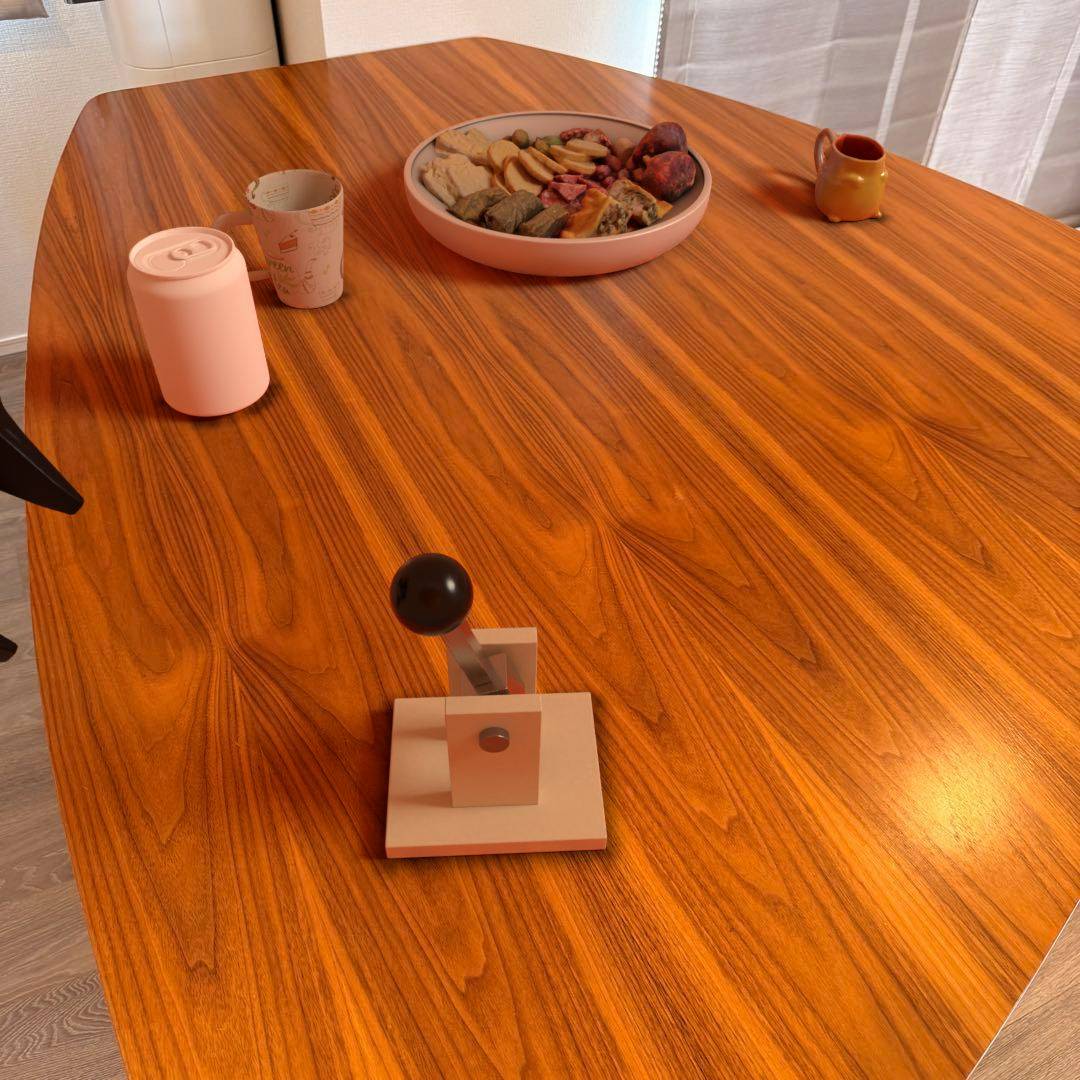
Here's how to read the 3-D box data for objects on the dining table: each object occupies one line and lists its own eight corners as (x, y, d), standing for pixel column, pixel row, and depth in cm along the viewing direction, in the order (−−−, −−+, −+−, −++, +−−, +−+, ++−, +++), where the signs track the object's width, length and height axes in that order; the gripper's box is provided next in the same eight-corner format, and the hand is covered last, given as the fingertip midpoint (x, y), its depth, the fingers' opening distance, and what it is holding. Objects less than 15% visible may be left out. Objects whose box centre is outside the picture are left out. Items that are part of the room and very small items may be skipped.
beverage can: (144, 391, 76) (98, 250, 68) (232, 350, 80) (199, 212, 72) (203, 437, 72) (162, 292, 64) (292, 391, 76) (264, 250, 68)
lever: (372, 610, 40) (454, 588, 39) (377, 548, 42) (455, 526, 41) (469, 747, 47) (539, 730, 46) (468, 686, 49) (535, 669, 49)
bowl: (472, 320, 84) (469, 236, 79) (369, 180, 104) (361, 104, 98) (763, 256, 93) (779, 176, 88) (619, 139, 113) (624, 67, 107)
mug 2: (889, 222, 99) (908, 158, 94) (826, 227, 98) (841, 162, 93) (843, 172, 107) (858, 111, 103) (784, 176, 106) (797, 114, 102)
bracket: (386, 859, 49) (367, 755, 42) (395, 710, 55) (380, 600, 48) (605, 849, 49) (619, 745, 43) (589, 704, 56) (599, 594, 49)
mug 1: (361, 309, 85) (348, 206, 78) (220, 327, 83) (194, 221, 76) (349, 265, 91) (336, 165, 84) (216, 281, 88) (192, 178, 82)
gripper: (-475, 402, 26) (71, 656, 34) (-146, 126, 39) (191, 356, 48) (-554, 600, 31) (-64, 780, 40) (-240, 298, 45) (78, 479, 53)
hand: (48, 576), depth 45 cm, fingers open, 9 cm apart
